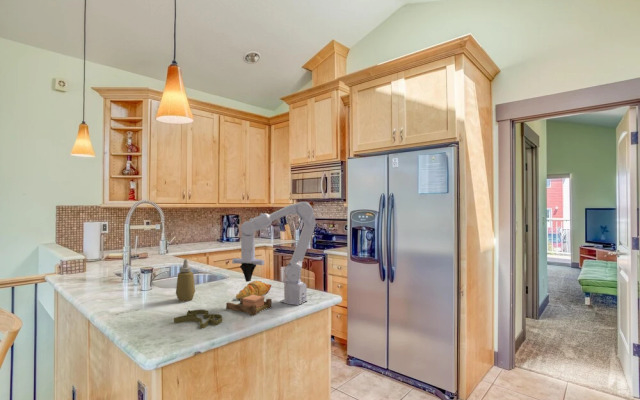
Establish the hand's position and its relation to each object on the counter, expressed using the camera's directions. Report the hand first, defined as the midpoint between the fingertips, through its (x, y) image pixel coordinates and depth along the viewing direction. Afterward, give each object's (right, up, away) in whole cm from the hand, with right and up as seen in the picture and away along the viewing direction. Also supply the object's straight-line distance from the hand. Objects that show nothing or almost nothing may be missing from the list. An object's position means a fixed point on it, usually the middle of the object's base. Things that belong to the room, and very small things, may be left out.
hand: (248, 281), depth 144 cm
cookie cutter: (-14, -10, -20) cm, 26 cm away
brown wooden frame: (+1, -10, -6) cm, 12 cm away
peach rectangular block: (+4, -9, -8) cm, 13 cm away
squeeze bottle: (-29, -10, +6) cm, 31 cm away
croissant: (0, -10, +14) cm, 17 cm away
